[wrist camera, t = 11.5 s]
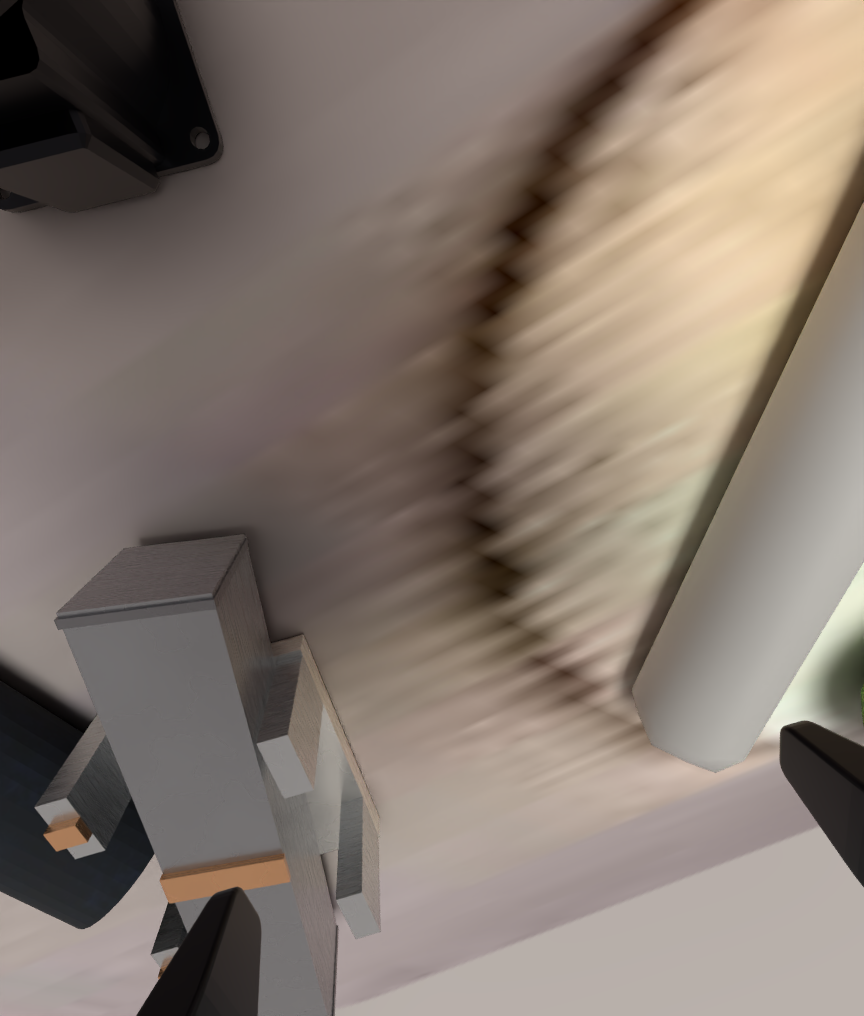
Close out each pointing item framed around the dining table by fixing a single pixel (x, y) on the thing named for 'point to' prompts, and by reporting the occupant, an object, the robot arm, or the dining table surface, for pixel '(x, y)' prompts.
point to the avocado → (862, 702)
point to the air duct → (207, 749)
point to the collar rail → (294, 766)
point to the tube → (770, 545)
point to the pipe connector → (19, 827)
